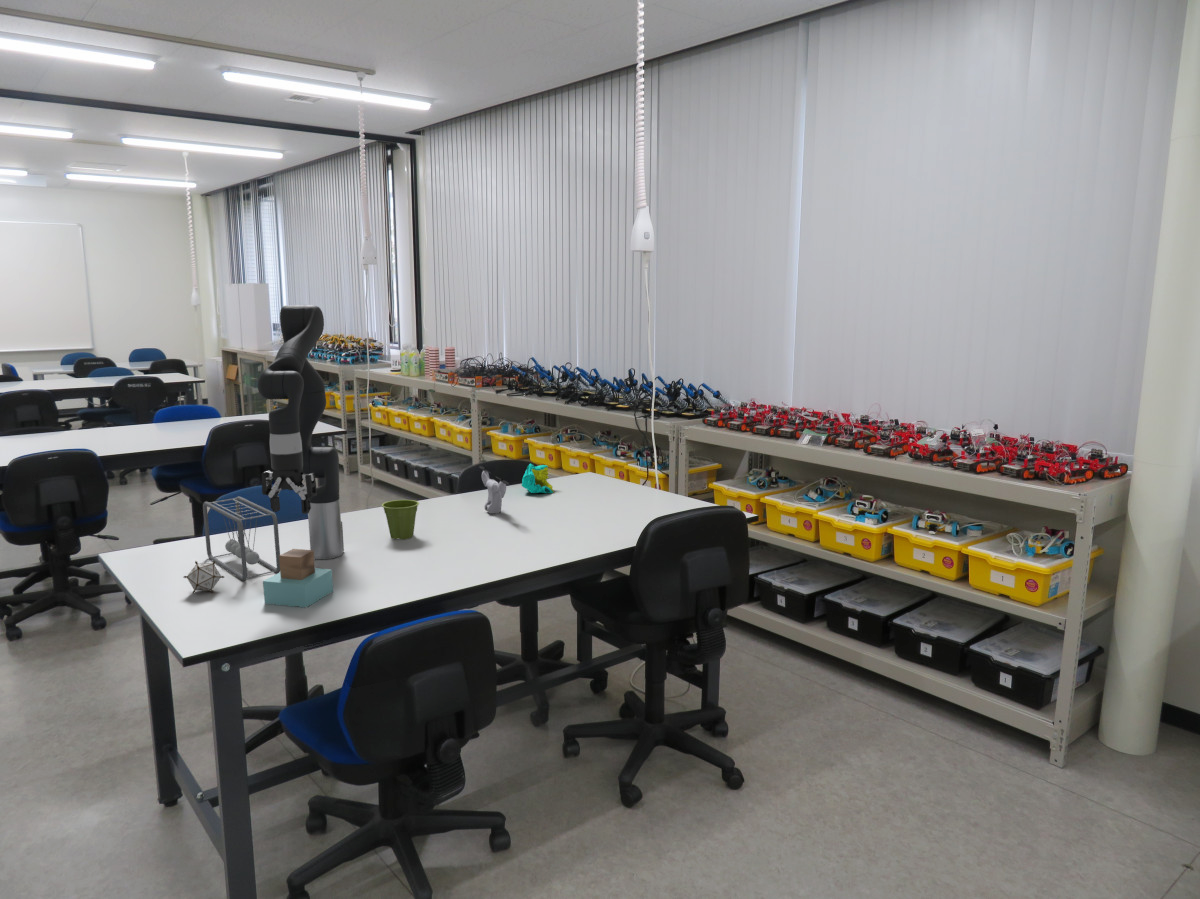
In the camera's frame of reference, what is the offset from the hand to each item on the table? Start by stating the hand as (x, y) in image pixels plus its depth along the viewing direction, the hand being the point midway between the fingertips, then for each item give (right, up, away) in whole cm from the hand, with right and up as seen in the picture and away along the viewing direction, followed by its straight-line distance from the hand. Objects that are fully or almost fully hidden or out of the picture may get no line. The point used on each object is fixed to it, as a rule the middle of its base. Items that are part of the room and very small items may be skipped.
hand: (291, 512), depth 203 cm
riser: (+1, -22, +3) cm, 23 cm away
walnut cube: (+1, -17, +2) cm, 17 cm away
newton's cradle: (-25, -18, +28) cm, 42 cm away
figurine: (+40, -7, +87) cm, 96 cm away
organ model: (+53, -1, +119) cm, 131 cm away
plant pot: (+14, -13, +57) cm, 60 cm away
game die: (-26, -22, +7) cm, 34 cm away
